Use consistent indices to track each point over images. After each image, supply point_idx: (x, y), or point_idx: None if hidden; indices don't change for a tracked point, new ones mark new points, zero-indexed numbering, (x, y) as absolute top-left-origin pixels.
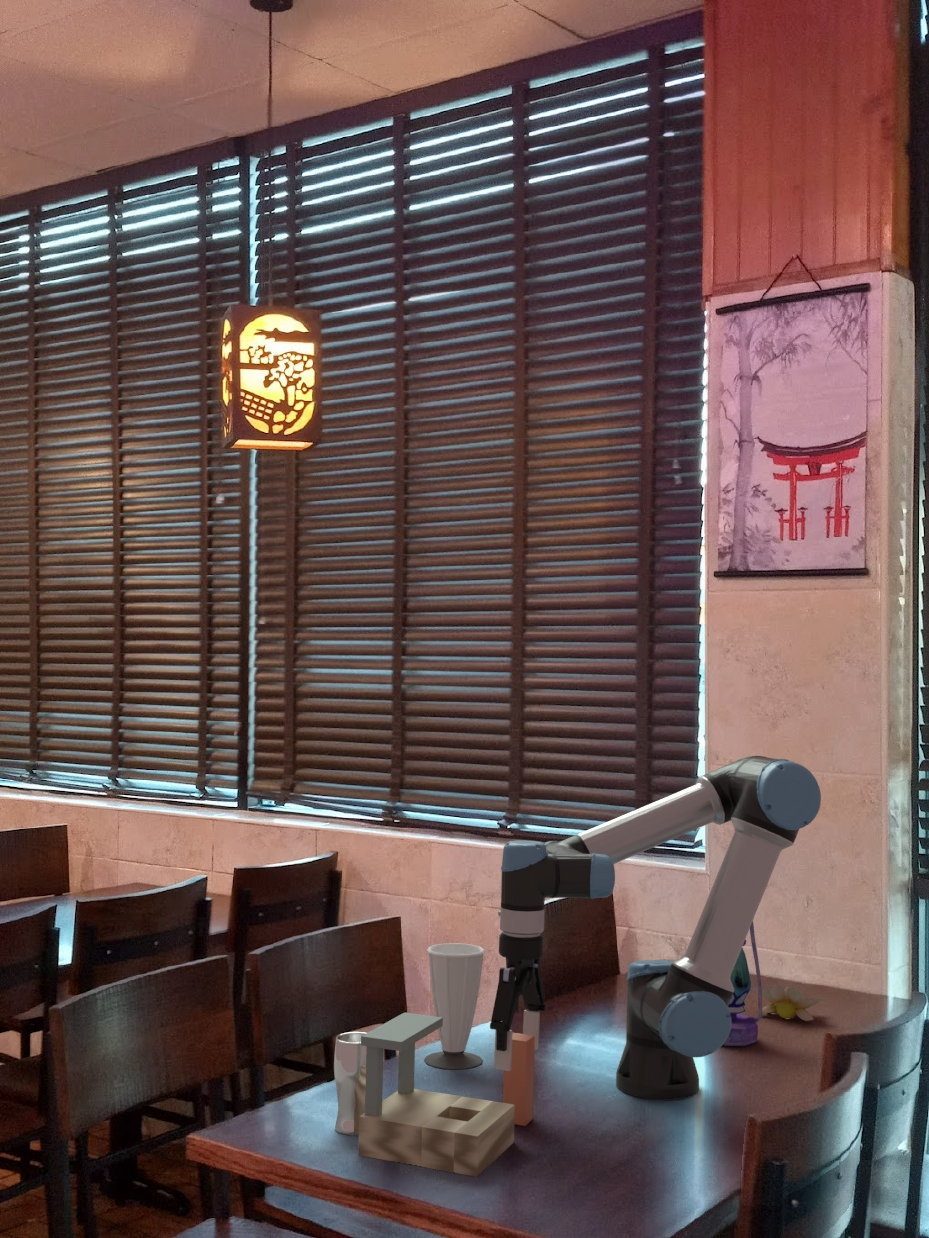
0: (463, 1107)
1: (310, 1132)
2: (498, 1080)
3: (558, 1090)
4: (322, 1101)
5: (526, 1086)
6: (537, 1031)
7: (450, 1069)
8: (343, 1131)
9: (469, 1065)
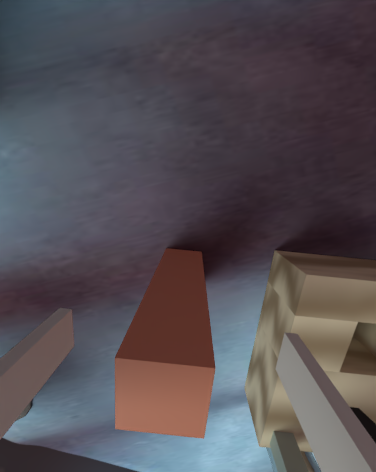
0: (341, 351)
1: None
2: (33, 328)
3: (26, 241)
4: (202, 466)
5: (200, 277)
6: (24, 355)
7: None
8: None
9: None
